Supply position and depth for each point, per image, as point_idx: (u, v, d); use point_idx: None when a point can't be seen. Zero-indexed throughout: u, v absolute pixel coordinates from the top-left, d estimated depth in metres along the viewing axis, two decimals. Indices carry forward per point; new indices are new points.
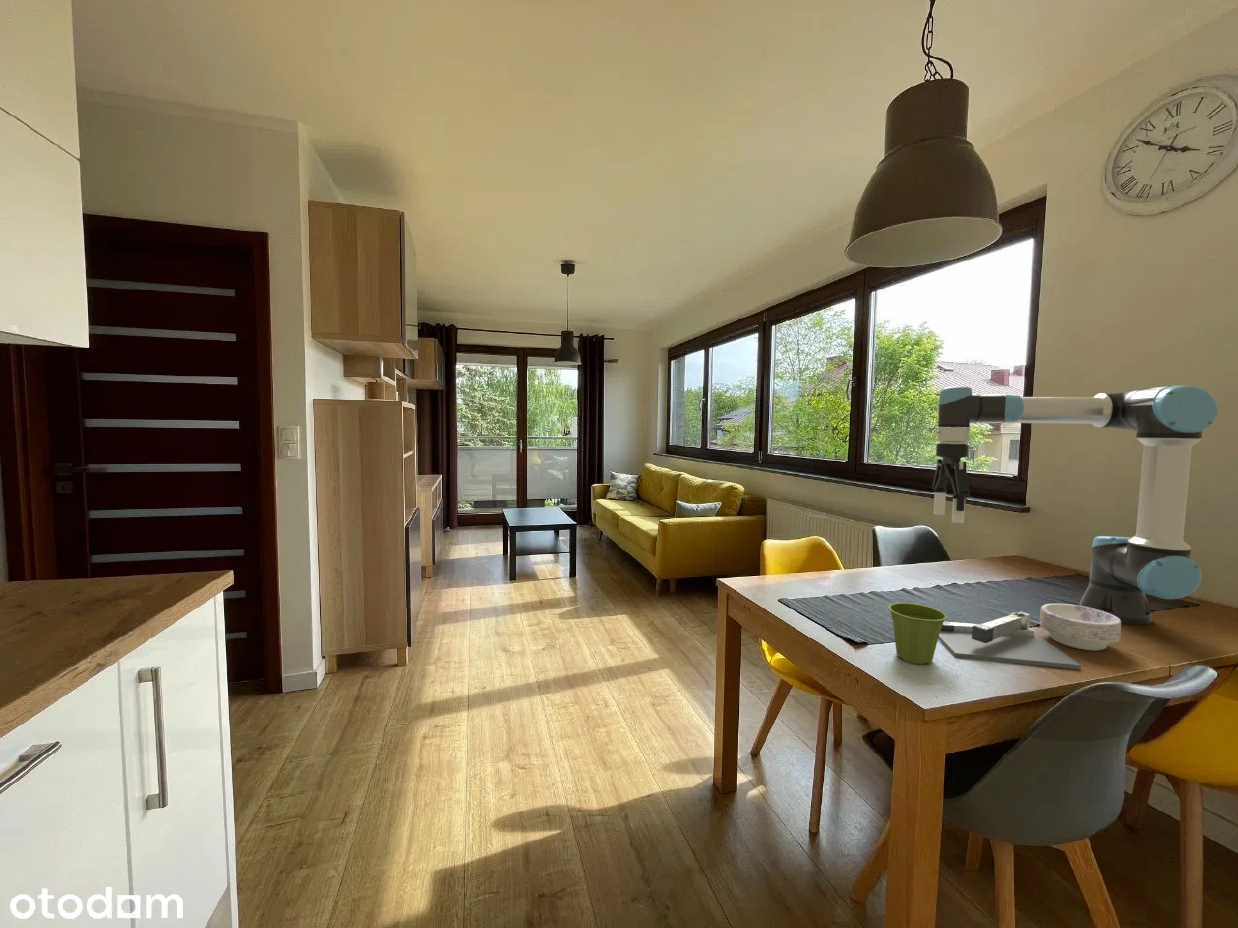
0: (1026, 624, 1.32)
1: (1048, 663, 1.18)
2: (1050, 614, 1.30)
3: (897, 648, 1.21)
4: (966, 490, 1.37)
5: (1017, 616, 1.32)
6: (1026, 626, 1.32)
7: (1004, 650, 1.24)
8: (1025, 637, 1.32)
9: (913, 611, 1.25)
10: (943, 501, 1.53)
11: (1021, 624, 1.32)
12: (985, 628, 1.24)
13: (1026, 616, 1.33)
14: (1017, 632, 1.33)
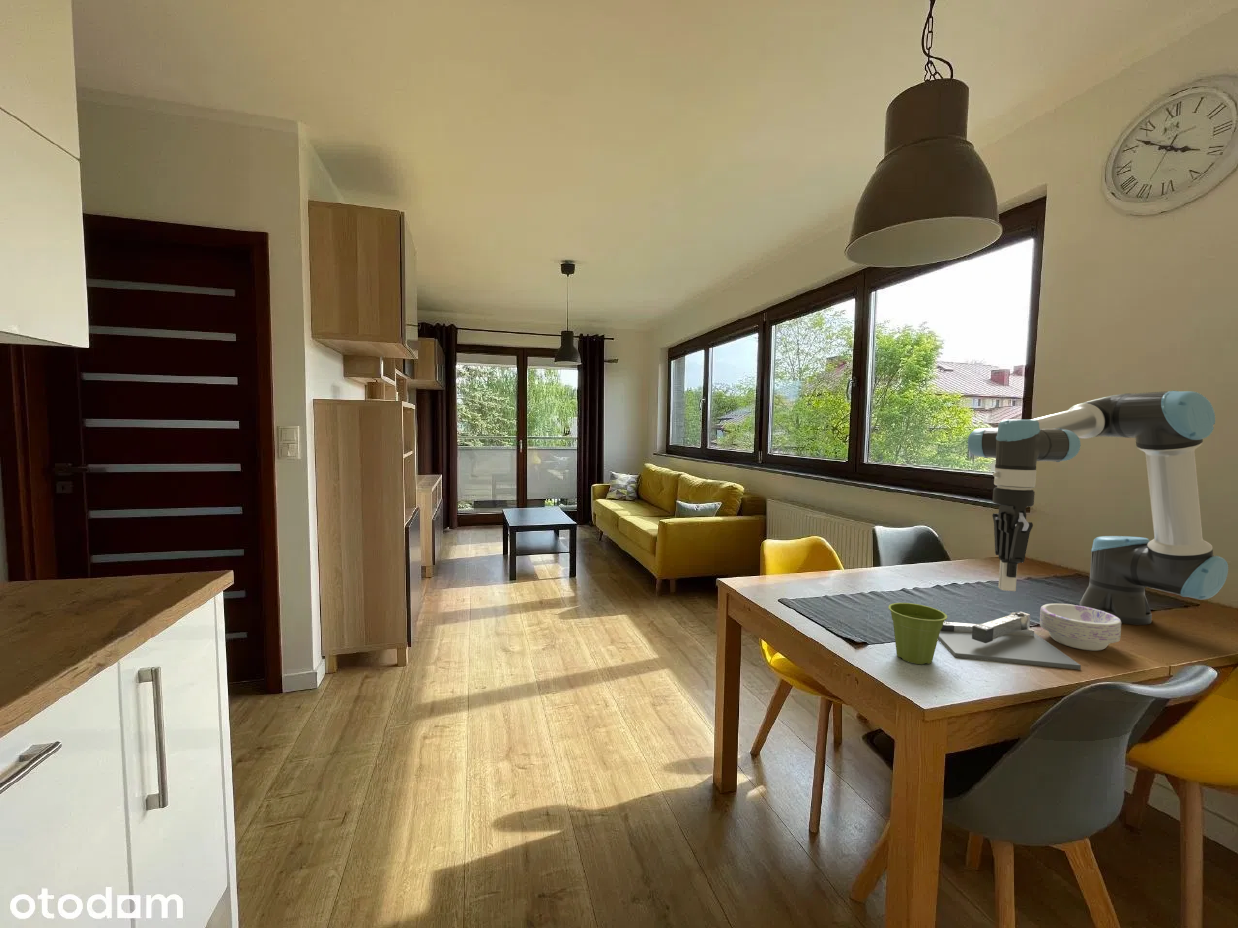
0: (1026, 624, 1.32)
1: (1048, 663, 1.18)
2: (1050, 614, 1.30)
3: (897, 648, 1.21)
4: (1021, 556, 1.16)
5: (1017, 616, 1.32)
6: (1026, 626, 1.32)
7: (1004, 650, 1.24)
8: (1025, 637, 1.32)
9: (913, 611, 1.25)
10: None
11: (1021, 624, 1.32)
12: (985, 628, 1.24)
13: (1026, 616, 1.33)
14: (1017, 632, 1.33)
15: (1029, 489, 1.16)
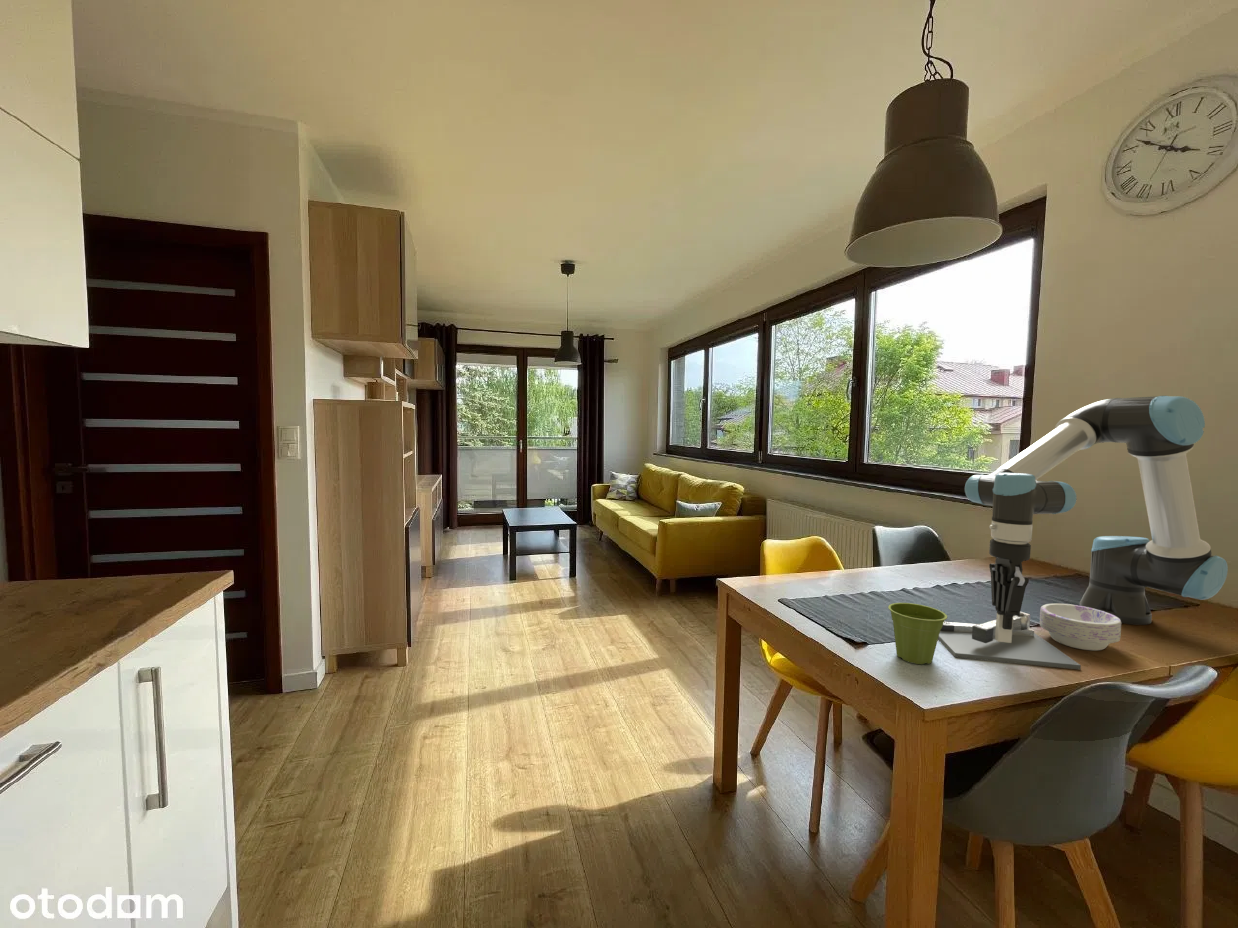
0: (1026, 624, 1.32)
1: (1048, 663, 1.18)
2: (1050, 614, 1.30)
3: (897, 648, 1.21)
4: (1017, 610, 1.17)
5: (1017, 616, 1.32)
6: (1026, 626, 1.32)
7: (1004, 650, 1.24)
8: (1025, 637, 1.32)
9: (913, 611, 1.25)
10: None
11: (1021, 624, 1.32)
12: (985, 628, 1.24)
13: (1026, 616, 1.33)
14: (1017, 632, 1.33)
15: (1025, 543, 1.17)
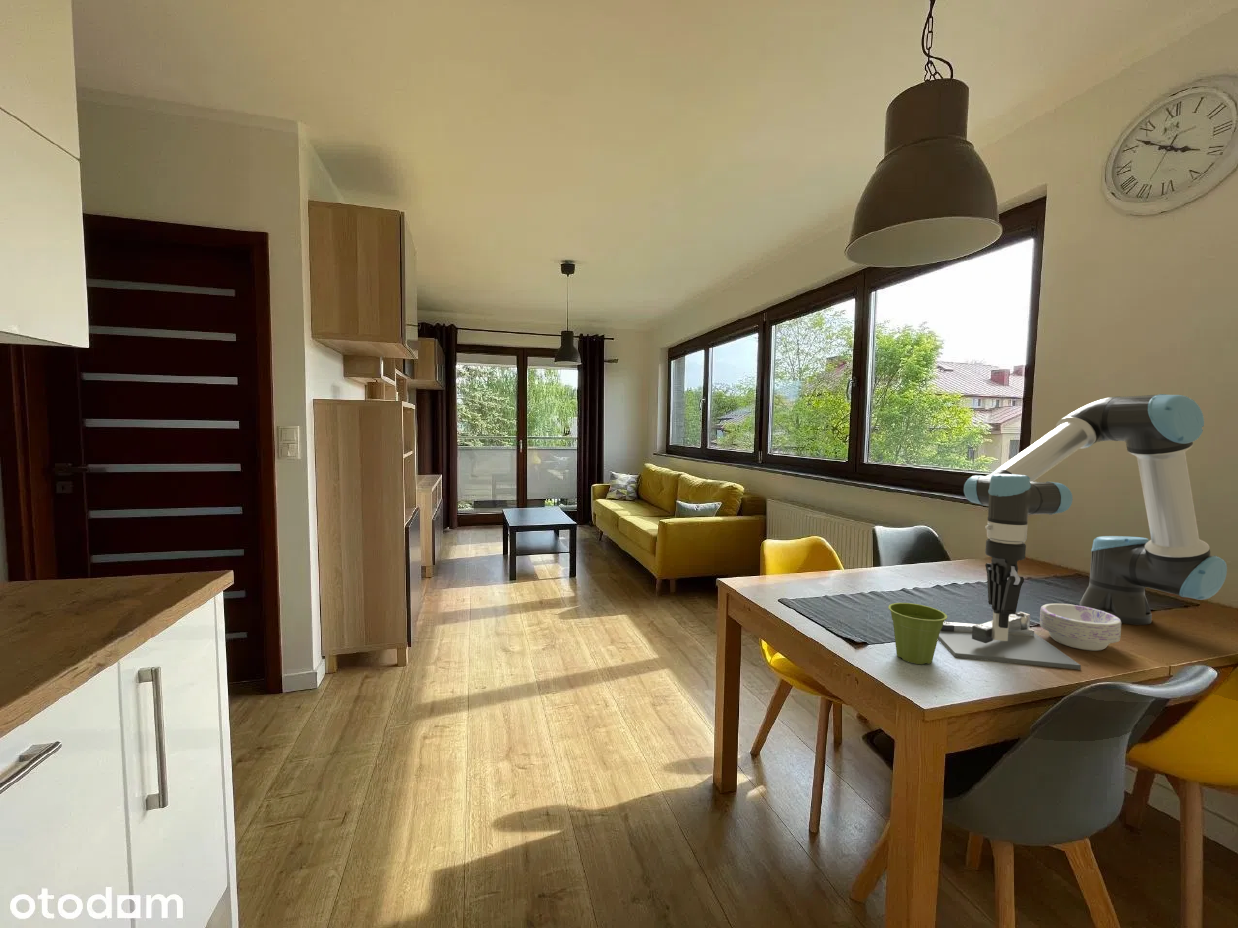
0: (1026, 624, 1.32)
1: (1048, 663, 1.18)
2: (1050, 614, 1.30)
3: (897, 648, 1.21)
4: (1013, 608, 1.19)
5: (1017, 616, 1.32)
6: (1026, 626, 1.32)
7: (1004, 650, 1.24)
8: (1025, 637, 1.32)
9: (914, 611, 1.25)
10: None
11: (1021, 624, 1.32)
12: (985, 628, 1.24)
13: (1026, 616, 1.33)
14: (1017, 632, 1.33)
15: (1020, 543, 1.19)
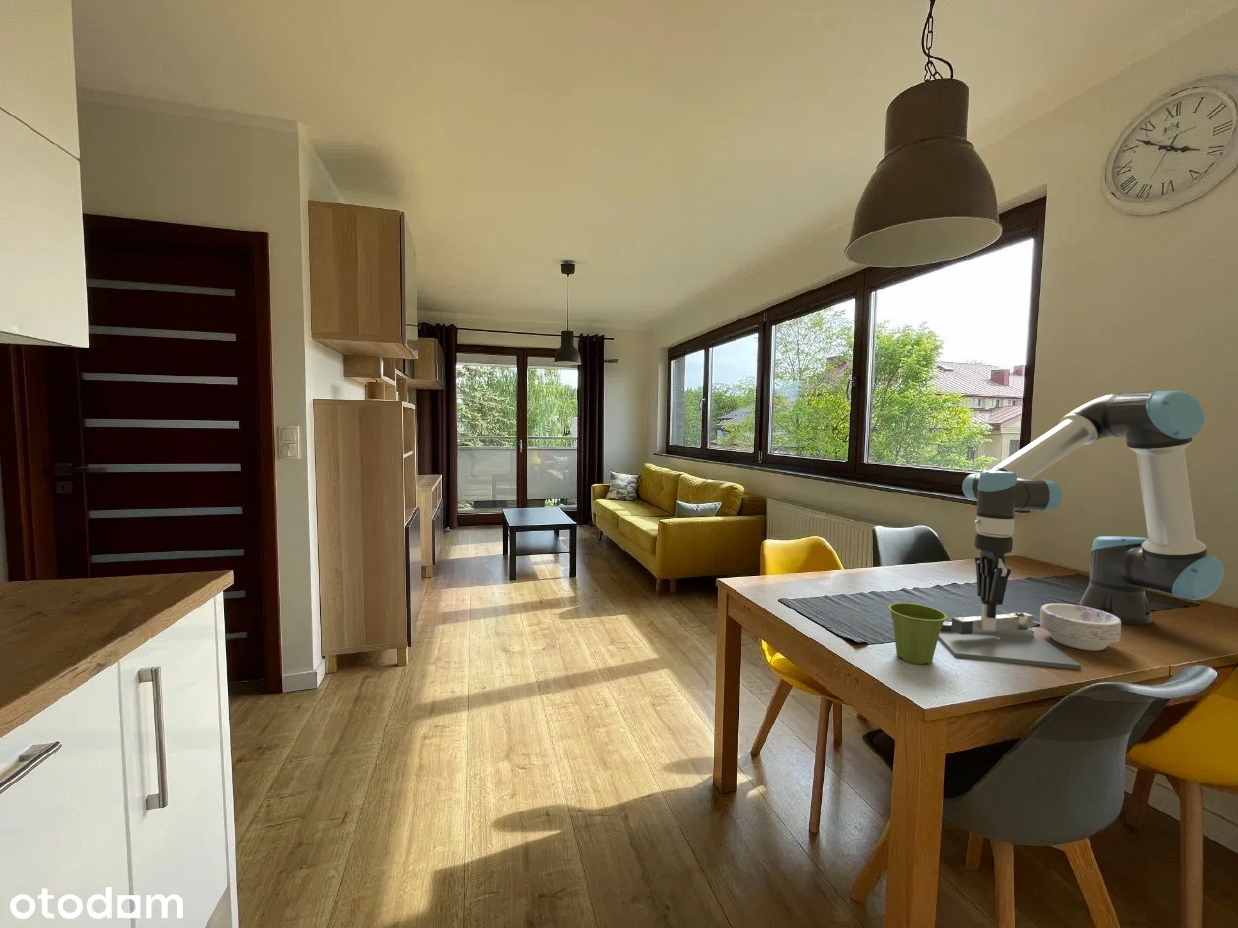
0: (1024, 624, 1.32)
1: (1048, 663, 1.18)
2: (1050, 614, 1.30)
3: (897, 648, 1.21)
4: (1000, 599, 1.25)
5: (1015, 615, 1.33)
6: (1024, 626, 1.32)
7: (1004, 650, 1.24)
8: (1025, 637, 1.32)
9: (913, 611, 1.25)
10: None
11: (1018, 624, 1.32)
12: (963, 620, 1.29)
13: (1025, 616, 1.32)
14: (1017, 632, 1.33)
15: (1008, 536, 1.25)
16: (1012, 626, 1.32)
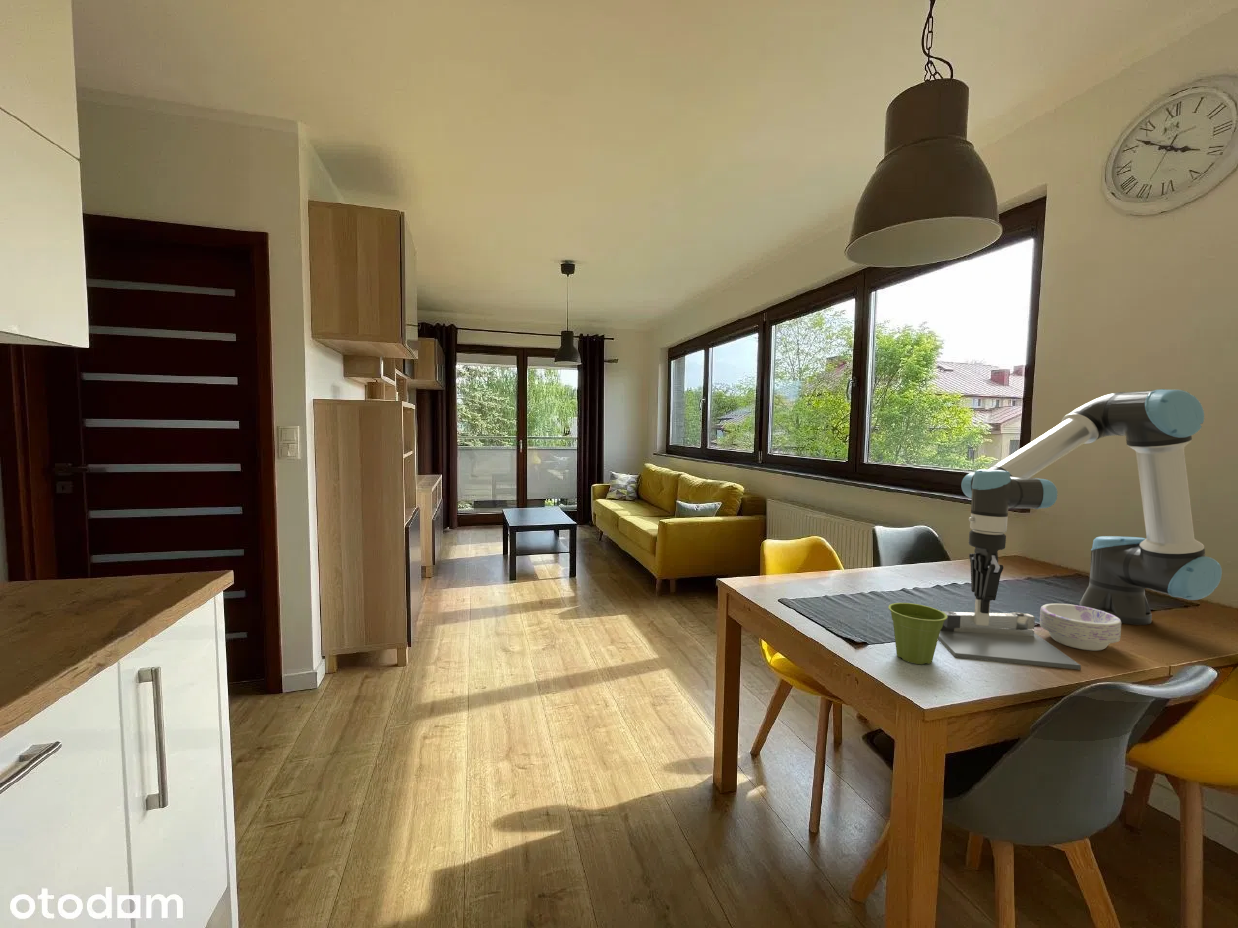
0: (1023, 624, 1.32)
1: (1048, 663, 1.18)
2: (1050, 614, 1.30)
3: (897, 648, 1.21)
4: (993, 595, 1.27)
5: (1013, 615, 1.33)
6: (1023, 626, 1.32)
7: (1004, 650, 1.24)
8: (1025, 637, 1.32)
9: (914, 611, 1.25)
10: None
11: (1016, 623, 1.33)
12: (950, 614, 1.33)
13: (1024, 616, 1.32)
14: (1017, 632, 1.33)
15: (1001, 534, 1.28)
16: (1008, 625, 1.33)
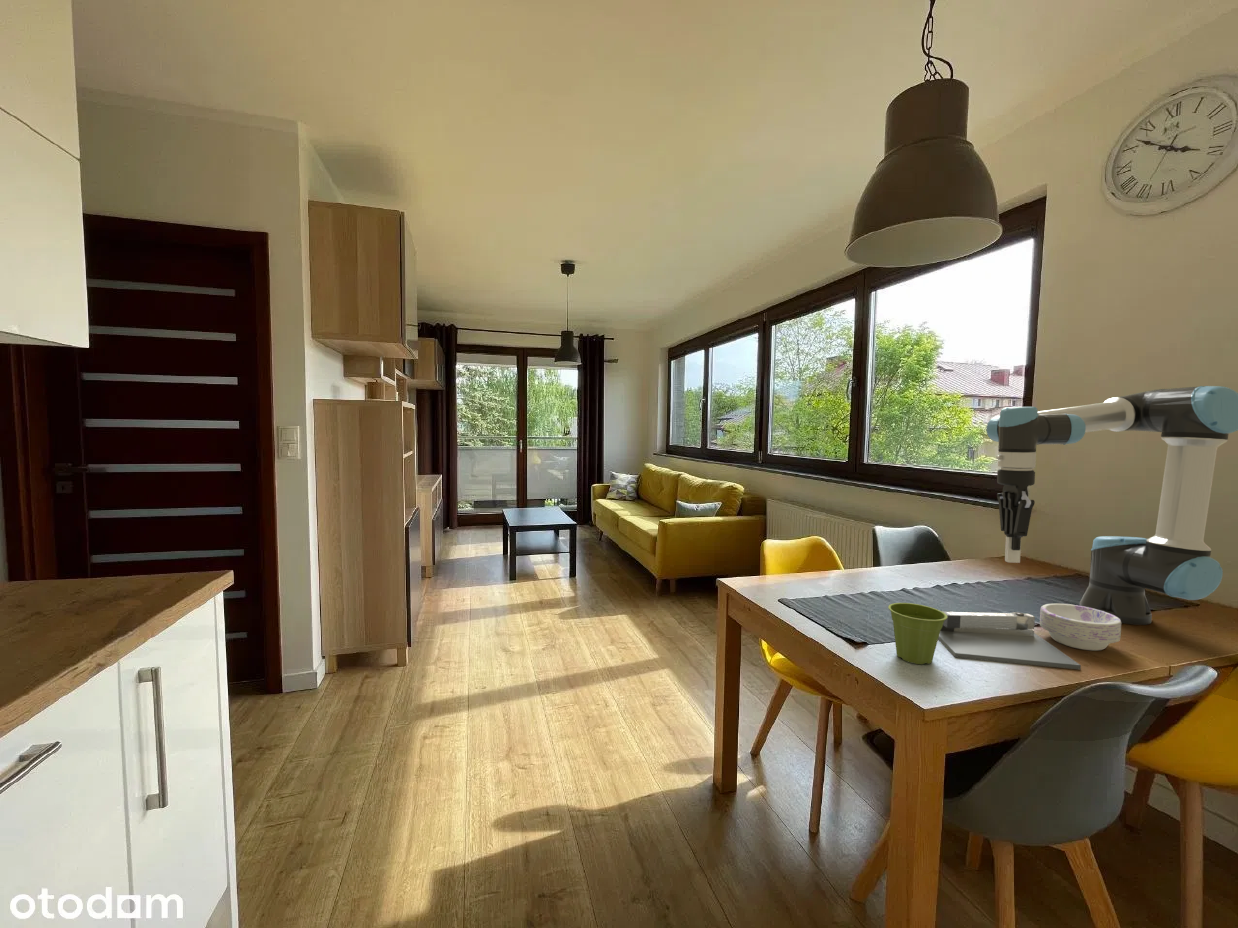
0: (1023, 624, 1.32)
1: (1048, 663, 1.18)
2: (1050, 614, 1.30)
3: (897, 648, 1.21)
4: (1024, 530, 1.28)
5: (1013, 615, 1.33)
6: (1023, 626, 1.32)
7: (1004, 650, 1.24)
8: (1025, 637, 1.32)
9: (913, 611, 1.25)
10: None
11: (1016, 623, 1.33)
12: (950, 614, 1.33)
13: (1024, 616, 1.32)
14: (1017, 632, 1.33)
15: (1030, 470, 1.28)
16: (1008, 625, 1.33)
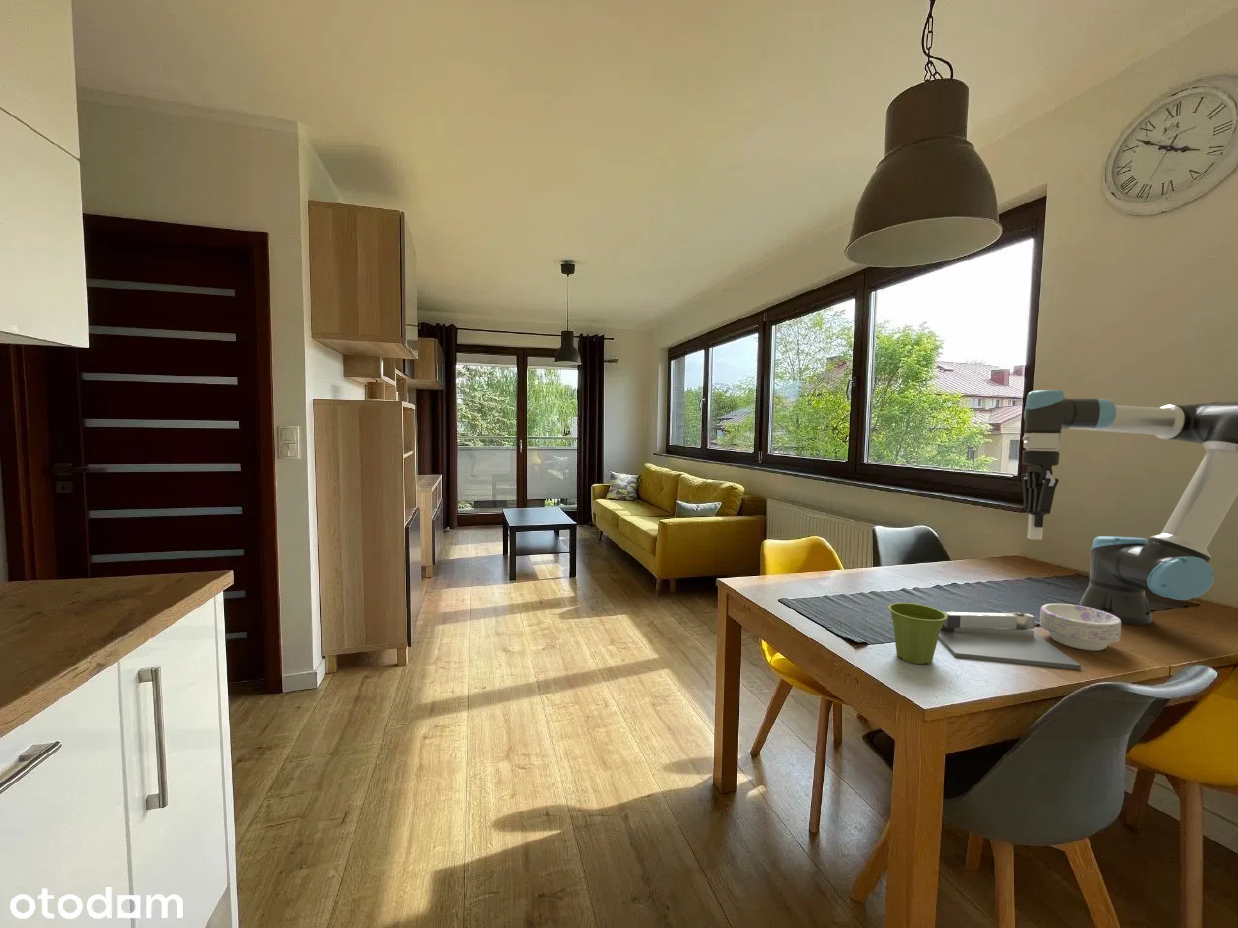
0: (1023, 624, 1.32)
1: (1048, 663, 1.18)
2: (1050, 614, 1.30)
3: (897, 648, 1.21)
4: (1047, 508, 1.34)
5: (1013, 615, 1.33)
6: (1023, 626, 1.32)
7: (1004, 650, 1.24)
8: (1025, 637, 1.32)
9: (913, 611, 1.25)
10: None
11: (1016, 623, 1.33)
12: (950, 614, 1.33)
13: (1024, 616, 1.32)
14: (1017, 632, 1.33)
15: (1055, 450, 1.34)
16: (1008, 625, 1.33)
